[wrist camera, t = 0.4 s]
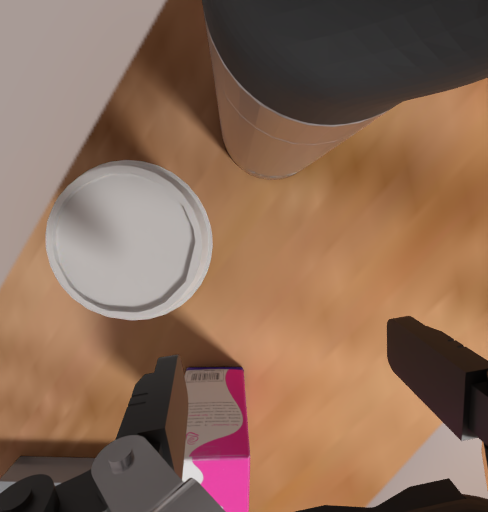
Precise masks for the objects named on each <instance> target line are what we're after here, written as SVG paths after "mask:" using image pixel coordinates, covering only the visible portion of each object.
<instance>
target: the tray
mask: <svg viewBox="0 0 488 512" xmlns="http://www.w3.org/2000/svg"><path fill="white" fill-rule="evenodd" d="M94 460H95V458H71V457H31V456H20V457H19V458H18V459H17V460H16V462H15V463H14V464H13V465H12V466H11V467H10V468H9V469H8V471H7V472H6V473H5V474H4V475H3V476H2V477H1V478H0V493H1V492H3V491H4V490H5V489H7V488H8V487H9V486H11V485H12V484H14V483H16V482H17V481H19V480H21V479H24V478H26V477H29V476H32V475H37V474H45V475H48V476H50V477H51V478H52V480H53V482H54V485H55V486H56V485H59V484H61V483H63V482H65V481H67V480H70V479H72V478H74V477H76V476H78V475H81V474H83V473H85V472H87V471H88V470H90V469H91V468H92V464H93V462H94Z"/></svg>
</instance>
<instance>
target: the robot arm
mask: <svg viewBox="0 0 488 512" xmlns="http://www.w3.org/2000/svg"><path fill="white" fill-rule="evenodd" d="M202 3H203V10H204V17H205V23H206V30H207V37H208V44H209V50H210V55H211V62H212V68H213V75H214V82H215V89H216V96H217V103H218V109H219V116H220V124H221V130H222V136H223V141H224V144H225V147H226V149H227V152H228V153H229V155H230V156H231V158H232V160H233V161H234V162H235V163H236V164H237V165H238V166H239V167H240V168H241V169H243V170H244V171H246V172H247V173H248V174H251V175H253V176H255V177H258V178H263V179H268V180H272V179H282V178H286V177H289V176H292V175H293V174H296V173H297V172H299V171H301V170H302V169H304V168H305V167H307V166H308V165H310V164H311V163H313V162H314V161H316V160H317V159H319V158H320V157H322V156H323V155H325V154H326V153H327V152H329V151H330V150H332V149H333V148H335V147H336V146H338V145H339V144H341V143H342V142H344V141H345V140H346V139H348V138H349V137H351V136H352V135H354V134H355V133H357V132H358V131H360V130H361V129H363V128H364V127H365V126H367V125H368V124H370V123H371V122H372V121H374V120H375V119H377V118H378V117H380V116H381V115H383V114H384V113H386V112H387V111H389V110H390V109H391V108H393V107H394V106H396V105H398V104H399V103H401V102H402V101H406V100H410V99H414V98H418V97H423V96H427V95H431V94H435V93H440V92H443V91H447V90H451V89H454V88H458V87H461V86H464V85H468V84H471V83H474V82H477V81H479V80H482V79H485V78H488V0H202ZM387 357H388V362H389V364H390V367H391V369H392V370H393V372H394V373H395V374H396V375H397V376H398V377H399V378H400V379H401V380H402V381H403V382H404V383H405V384H406V385H407V386H408V387H409V388H410V389H411V390H412V391H413V392H414V393H415V394H416V395H417V396H418V397H419V398H420V399H421V400H422V401H423V402H424V403H425V404H426V405H427V406H428V407H429V408H430V409H431V410H432V411H433V412H434V413H435V414H436V416H437V417H438V418H439V419H440V420H441V421H442V422H443V423H444V424H445V425H446V426H447V427H448V428H449V429H450V430H451V431H452V432H453V433H454V434H455V435H456V436H457V437H458V438H459V439H460V440H461V441H464V440H469V439H474V438H479V439H481V440H482V457H483V464H484V470H485V477H486V483H487V489H488V361H487V360H486V359H484V358H483V357H481V356H479V355H478V354H476V353H475V352H473V351H472V350H470V349H468V348H467V347H464V346H463V345H462V344H461V343H459V342H457V341H454V339H453V338H451V337H450V336H448V335H446V334H445V333H443V332H442V331H439V330H436V329H433V328H430V327H428V326H425V325H423V324H422V323H420V322H419V321H417V320H416V319H414V318H413V317H411V316H405V317H399V318H393V319H389V320H388V322H387ZM187 420H188V393H187V387H186V382H185V377H184V372H183V366H182V361H181V357H180V355H179V354H178V355H172V356H166V357H160V358H158V361H157V365H156V368H155V371H154V373H150V374H145V375H144V376H143V377H142V378H141V379H140V380H139V381H138V382H137V384H136V385H135V387H134V390H133V393H132V398H130V401H129V404H128V407H127V409H126V412H125V415H124V418H123V420H122V423H121V426H120V429H119V431H118V434H117V437H116V440H115V441H113V442H111V443H110V444H108V445H107V446H106V447H105V448H104V449H102V450H101V452H100V453H99V454H98V455H97V457H96V458H95V460H94V462H93V464H92V468H91V469H90V470H88V471H87V472H85V473H83V474H81V475H78V476H76V477H74V478H72V479H70V480H67V481H65V482H63V483H61V484H59V485H56V486H55V485H54V482H53V480H52V478H51V477H50V476H48V475H45V474H37V475H32V476H29V477H26V478H24V479H21V480H19V481H17V482H16V483H14V484H12V485H11V486H9V487H8V488H7V489H5V490H4V491H3V492H1V493H0V512H226V511H225V510H224V509H223V508H222V507H221V506H220V505H219V504H218V503H217V502H216V501H215V500H214V498H213V497H212V496H211V495H210V494H209V493H208V492H207V491H206V490H205V489H204V488H203V487H202V485H201V484H200V483H199V482H198V481H196V480H195V479H194V478H189V479H188V480H186V481H185V482H183V481H182V476H183V465H184V453H185V442H186V431H187ZM296 512H488V499H485V498H481V497H477V496H471V495H465V494H461V493H460V491H458V489H457V488H456V487H455V485H454V484H453V483H452V482H451V481H450V479H444V480H440V481H435V482H430V483H426V484H421V485H416V486H411V487H409V488H407V489H405V490H403V491H402V492H400V493H398V494H397V495H395V496H393V497H392V498H390V499H388V500H387V501H385V502H383V503H382V504H380V505H378V506H376V507H373V508H365V507H348V506H330V505H324V506H319V507H314V508H310V509H305V510H300V511H296Z"/></svg>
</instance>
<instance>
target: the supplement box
mask: <svg viewBox="0 0 488 512" xmlns="http://www.w3.org/2000/svg"><path fill="white" fill-rule="evenodd" d="M184 377H185V382H186V387H187V393H188V420H187V431H186V442H185V453H184V465H183V476H182V481H183V482H185V481H186V480H188V479H189V478H194V479H195V480H196V481H198V482H199V483H200V484H201V485H202V487H203V488H204V489H205V490H206V491H207V492H208V493H209V494H210V495H211V496H212V497H213V498H214V500H215V501H216V502H217V503H218V504H219V505H220V506H221V507H222V508H223V509H224V510H225V511H226V512H249V480H250V448H249V436H248V422H247V409H246V397H245V383H244V370H243V368H242V367H189V368H187V369H186V372H185V376H184Z"/></svg>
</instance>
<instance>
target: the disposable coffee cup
mask: <svg viewBox="0 0 488 512" xmlns="http://www.w3.org/2000/svg"><path fill="white" fill-rule="evenodd" d="M212 247H213V245H212V232H211V226H210V223H209V220H208V216H207V213H206V211H205V209H204V207H203V205H202V204H201V202H200V200H199V198H198V197H197V196H196V194H195V193H194V192H193V191H192V189H191V188H190V187H189V186H188V185H187V184H186V183H185V182H184V181H183V180H181V179H180V178H179V177H177V176H176V175H175V174H173V173H172V172H170V171H168V170H166V169H164V168H162V167H160V166H158V165H154V164H151V163H147V162H144V161H134V160H121V161H112V162H108V163H105V164H101V165H98V166H96V167H94V168H92V169H90V170H88V171H86V172H85V173H83V174H82V175H81V176H79V177H78V178H77V179H76V180H74V181H73V182H72V183H71V184H70V185H68V186H67V187H66V189H65V190H64V191H63V192H62V193H61V194H60V196H59V197H58V198H57V200H56V202H55V204H54V206H53V208H52V211H51V213H50V216H49V218H48V222H47V228H46V250H47V254H48V258H49V262H50V266H51V268H52V270H53V272H54V274H55V277H56V278H57V280H58V281H59V283H60V284H61V286H62V287H63V288H64V289H65V291H66V292H67V293H68V294H69V295H70V296H71V297H72V298H73V299H74V300H76V301H77V302H79V303H80V304H81V305H83V306H84V307H86V308H87V309H89V310H91V311H94V312H96V313H99V314H101V315H104V316H107V317H111V318H118V319H125V320H144V319H151V318H155V317H158V316H162V315H165V314H167V313H169V312H171V311H172V310H174V309H176V308H178V307H180V306H181V305H182V304H183V303H185V302H186V301H187V300H188V299H189V298H190V297H191V296H192V295H193V294H194V293H195V291H196V290H197V289H198V288H199V286H200V285H201V283H202V281H203V279H204V277H205V275H206V273H207V271H208V268H209V264H210V261H211V254H212Z"/></svg>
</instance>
